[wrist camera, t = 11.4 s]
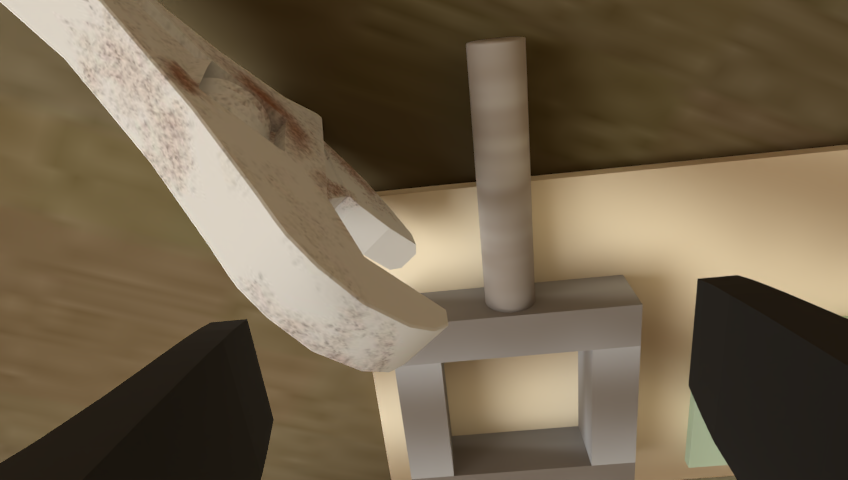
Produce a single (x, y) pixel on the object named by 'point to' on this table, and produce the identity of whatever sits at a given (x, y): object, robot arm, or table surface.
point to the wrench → (251, 179)
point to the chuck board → (586, 294)
